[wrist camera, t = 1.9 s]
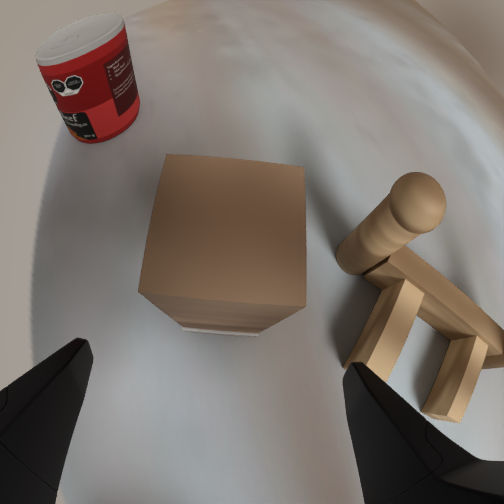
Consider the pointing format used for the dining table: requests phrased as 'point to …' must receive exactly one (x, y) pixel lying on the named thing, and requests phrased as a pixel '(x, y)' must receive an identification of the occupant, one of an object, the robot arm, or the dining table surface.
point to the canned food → (91, 77)
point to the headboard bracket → (417, 297)
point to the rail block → (226, 244)
